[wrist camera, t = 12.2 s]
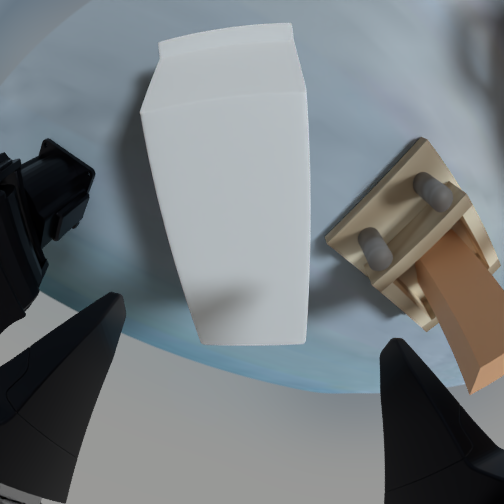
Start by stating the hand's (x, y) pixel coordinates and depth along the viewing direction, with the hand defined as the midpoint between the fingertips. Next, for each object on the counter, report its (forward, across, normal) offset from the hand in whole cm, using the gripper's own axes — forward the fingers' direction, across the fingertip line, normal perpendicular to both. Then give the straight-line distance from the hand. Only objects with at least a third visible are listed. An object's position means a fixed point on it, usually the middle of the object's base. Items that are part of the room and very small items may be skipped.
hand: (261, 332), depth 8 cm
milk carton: (+9, -1, +9) cm, 13 cm away
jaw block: (+12, -15, +2) cm, 20 cm away
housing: (+13, -14, +1) cm, 19 cm away
